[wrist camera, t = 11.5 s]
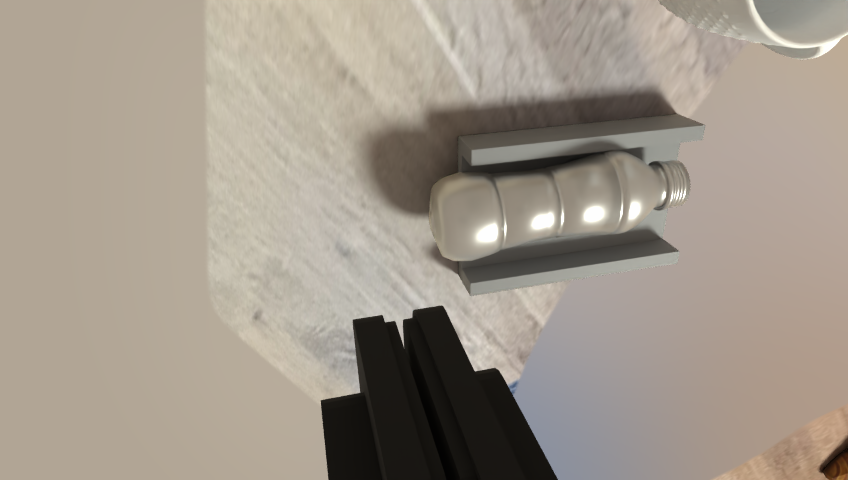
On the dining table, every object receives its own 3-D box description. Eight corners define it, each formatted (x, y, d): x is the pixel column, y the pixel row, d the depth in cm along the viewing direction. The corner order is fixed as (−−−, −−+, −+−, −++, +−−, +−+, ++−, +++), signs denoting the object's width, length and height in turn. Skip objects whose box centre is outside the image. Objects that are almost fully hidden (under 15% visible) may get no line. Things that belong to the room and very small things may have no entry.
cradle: (457, 136, 43) (471, 150, 40) (677, 113, 47) (705, 125, 44) (458, 274, 49) (470, 296, 46) (653, 245, 52) (677, 263, 49)
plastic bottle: (444, 281, 40) (697, 238, 43) (437, 192, 37) (708, 152, 40) (425, 245, 46) (649, 209, 49) (418, 165, 43) (656, 132, 46)
